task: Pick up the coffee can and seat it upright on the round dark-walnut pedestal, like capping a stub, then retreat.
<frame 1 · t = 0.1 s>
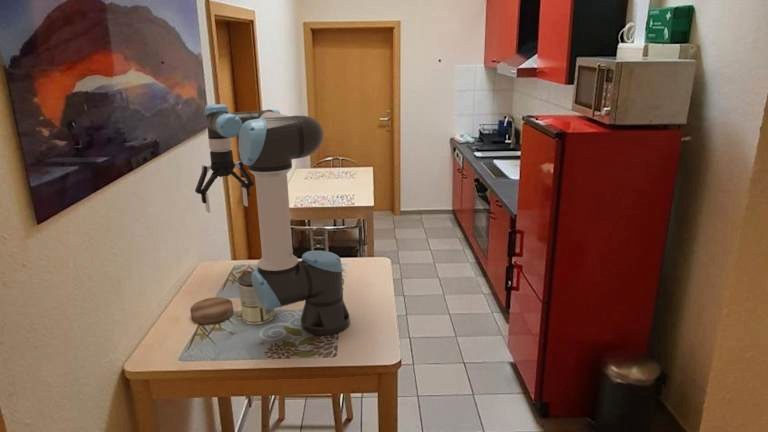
hand: (227, 208, 190), 28 cm above the table, fingers open, 13 cm apart
red bumpy fruit: (248, 290, 191), on the table
coffee can: (258, 317, 171), on the table
pedestal: (212, 314, 173), on the table
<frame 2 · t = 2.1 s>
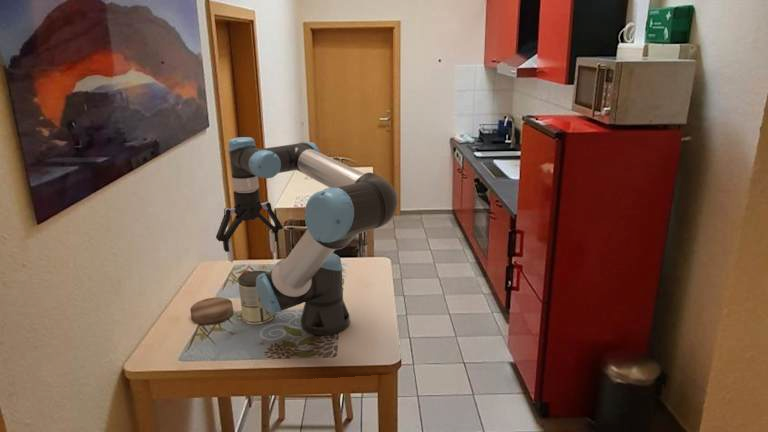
hand: (252, 256, 165), 21 cm above the table, fingers open, 13 cm apart
nothing on the table moved.
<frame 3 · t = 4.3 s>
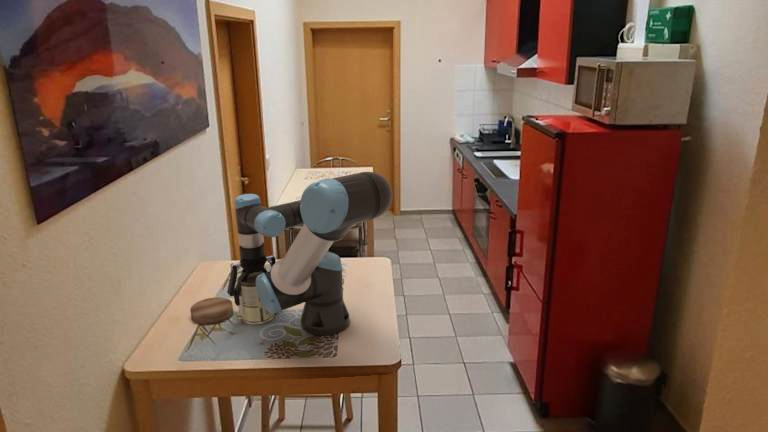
hand: (257, 309, 170), 3 cm above the table, fingers closed on coffee can, 10 cm apart
coffee can: (258, 317, 171), on the table, touching gripper
everything else where it was.
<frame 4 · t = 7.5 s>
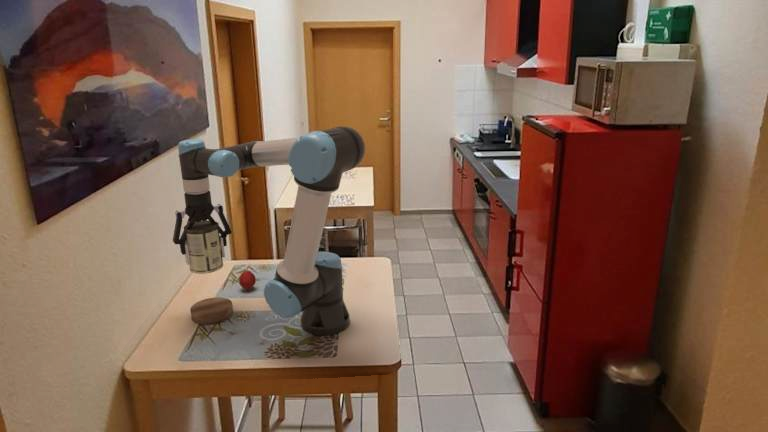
hand: (205, 259, 167), 19 cm above the table, fingers closed on coffee can, 10 cm apart
coffee can: (206, 268, 168), point 16 cm above the table, touching gripper
everything else where it was.
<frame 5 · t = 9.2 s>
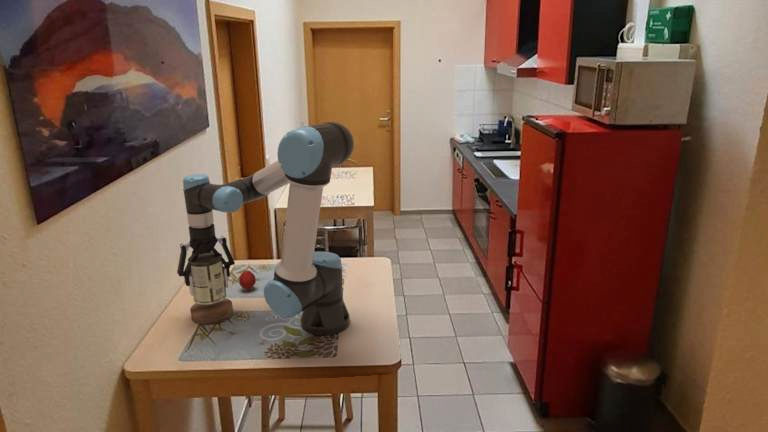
hand: (209, 290, 170), 9 cm above the table, fingers closed on coffee can, 10 cm apart
coffee can: (210, 298, 171), point 6 cm above the table, touching gripper
everything else where it was.
when the fingers open (7 cm above the table, at t = 10.5 s): coffee can drops 1 cm, resting on pedestal.
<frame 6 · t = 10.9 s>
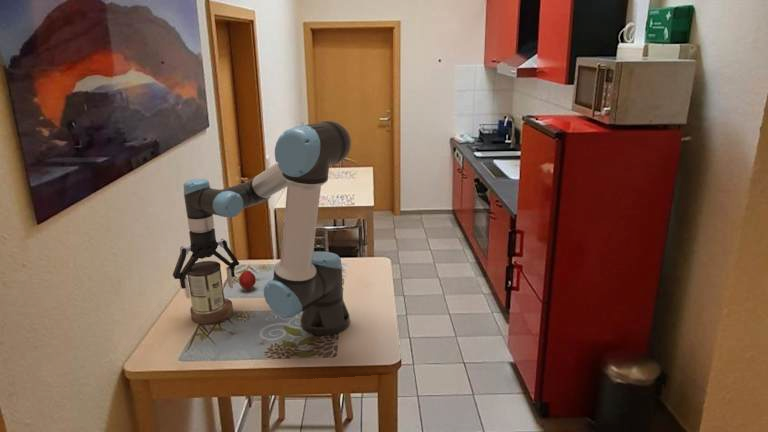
hand: (209, 291, 170), 8 cm above the table, fingers open, 13 cm apart
coffee can: (208, 307, 171), point 3 cm above the table, touching pedestal
everything else where it was.
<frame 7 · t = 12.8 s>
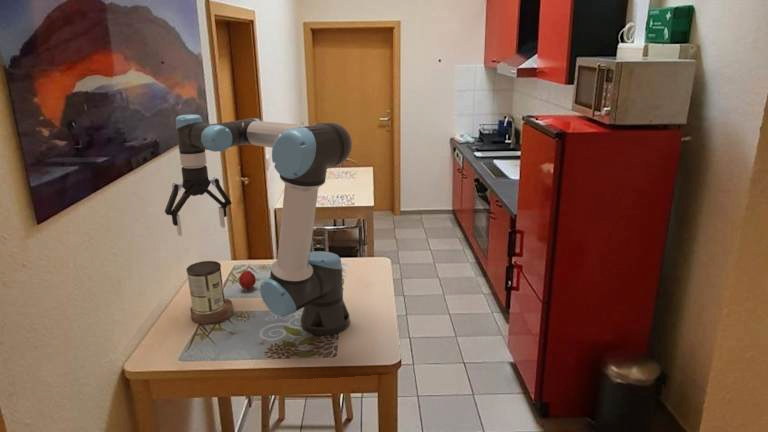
hand: (201, 230, 170), 27 cm above the table, fingers open, 13 cm apart
nothing on the table moved.
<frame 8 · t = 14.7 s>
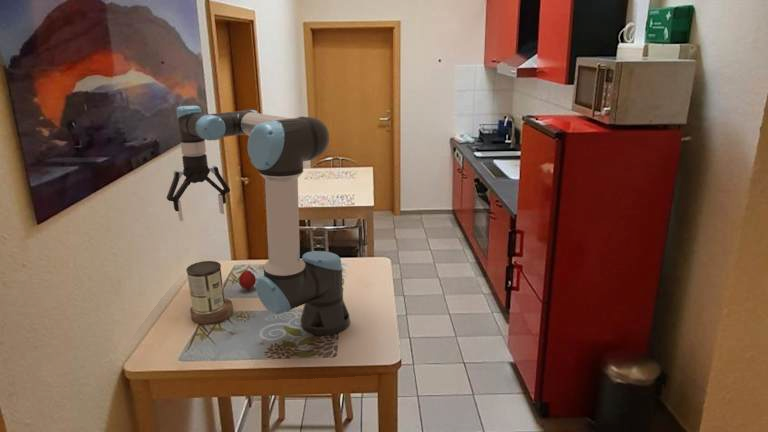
hand: (201, 216, 179), 29 cm above the table, fingers open, 13 cm apart
nothing on the table moved.
at the end: coffee can 0.9 cm from the pedestal (horizontally); coffee can tilted 0°; coffee can touching pedestal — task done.
